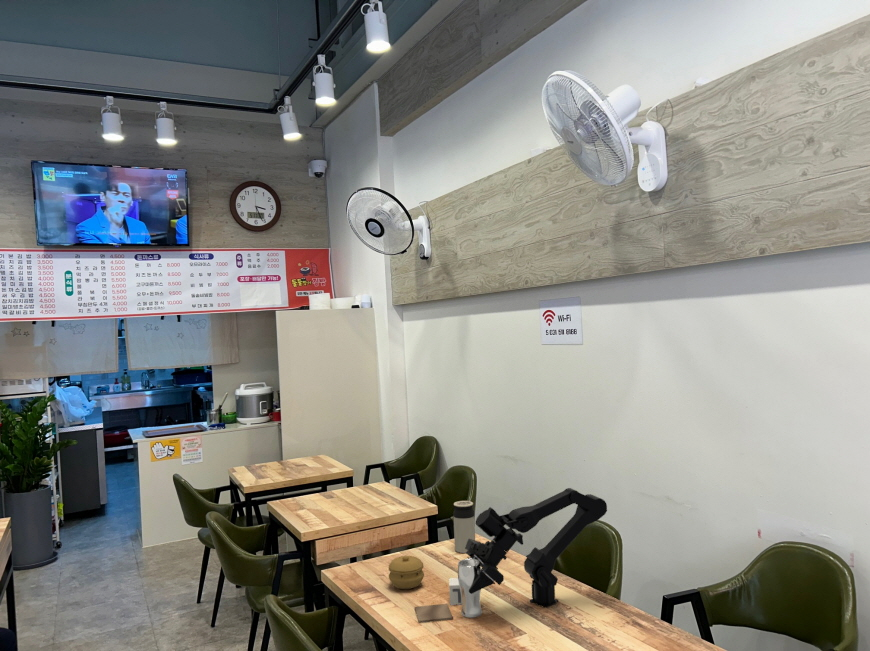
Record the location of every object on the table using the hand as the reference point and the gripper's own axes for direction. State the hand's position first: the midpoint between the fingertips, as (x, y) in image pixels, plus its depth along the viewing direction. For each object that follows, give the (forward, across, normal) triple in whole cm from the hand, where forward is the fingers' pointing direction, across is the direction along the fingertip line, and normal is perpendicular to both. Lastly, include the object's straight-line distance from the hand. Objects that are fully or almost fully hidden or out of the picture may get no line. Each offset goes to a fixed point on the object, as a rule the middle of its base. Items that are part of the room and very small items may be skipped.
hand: (466, 588), depth 191 cm
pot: (+14, -28, -3) cm, 31 cm away
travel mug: (-6, -55, +17) cm, 58 cm away
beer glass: (+4, 0, +6) cm, 8 cm away
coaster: (+12, -4, -1) cm, 13 cm away
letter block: (+5, -10, +6) cm, 13 cm away
